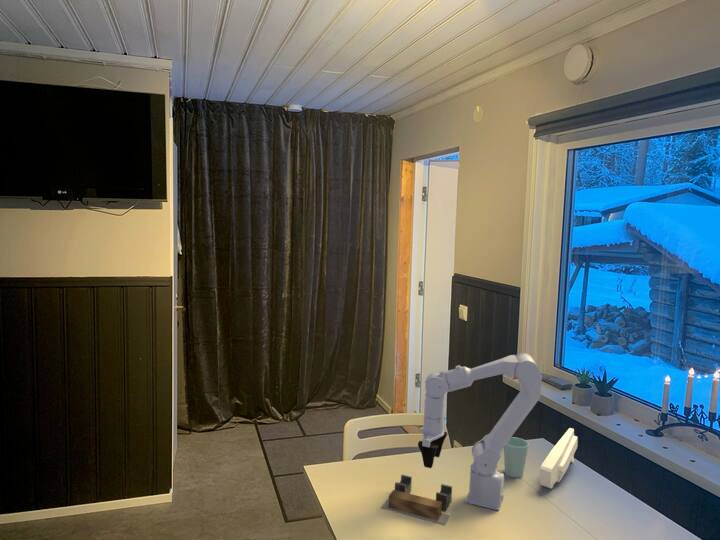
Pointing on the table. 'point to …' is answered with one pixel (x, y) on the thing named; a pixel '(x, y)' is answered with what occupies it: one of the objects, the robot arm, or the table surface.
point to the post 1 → (404, 484)
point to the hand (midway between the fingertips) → (431, 461)
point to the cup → (515, 456)
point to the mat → (442, 519)
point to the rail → (415, 505)
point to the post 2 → (445, 496)
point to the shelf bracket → (558, 459)
